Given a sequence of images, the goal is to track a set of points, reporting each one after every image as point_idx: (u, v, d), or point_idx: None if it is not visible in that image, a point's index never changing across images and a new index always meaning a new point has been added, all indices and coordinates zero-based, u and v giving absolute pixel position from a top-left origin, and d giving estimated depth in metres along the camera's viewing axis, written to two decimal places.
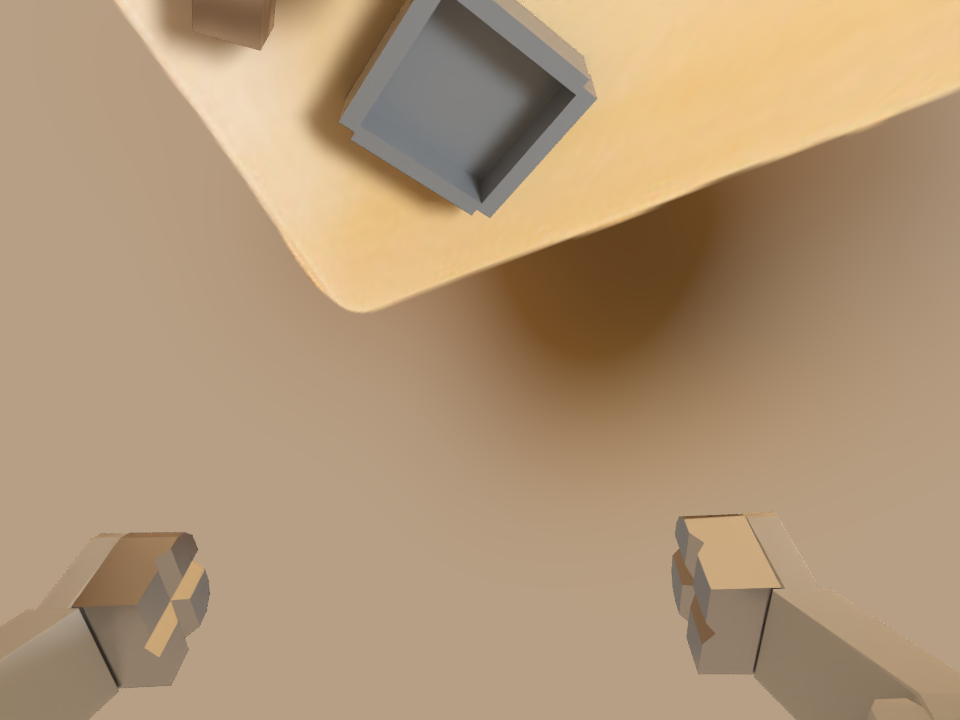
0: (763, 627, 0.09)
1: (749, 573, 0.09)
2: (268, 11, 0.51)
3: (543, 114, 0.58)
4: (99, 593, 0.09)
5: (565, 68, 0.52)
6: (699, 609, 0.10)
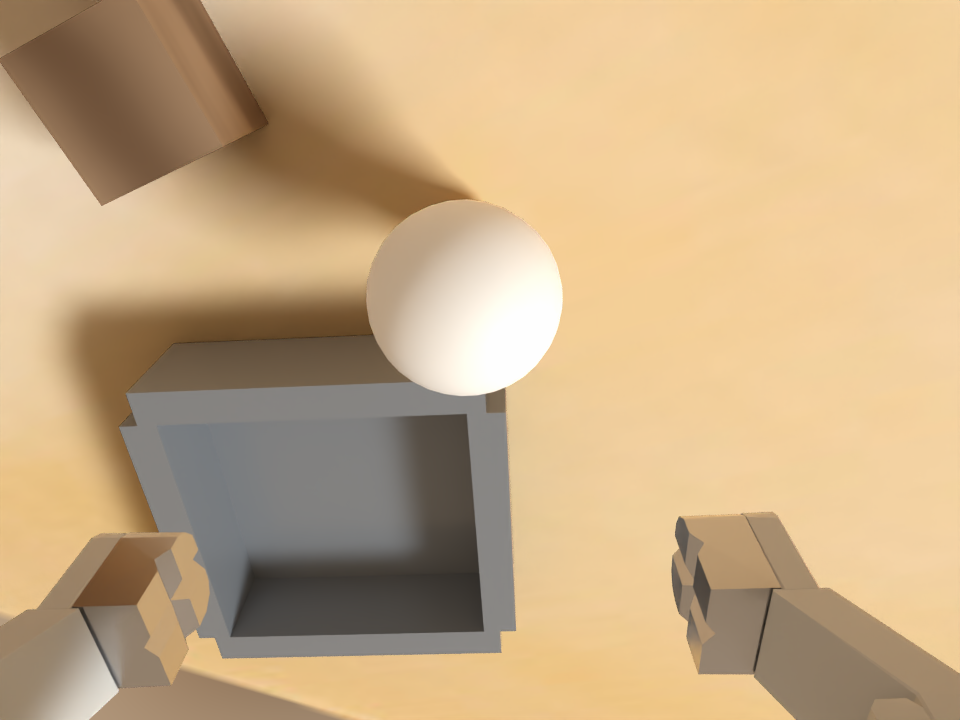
0: (763, 627, 0.09)
1: (749, 573, 0.09)
2: None
3: (414, 589, 0.35)
4: (99, 592, 0.09)
5: (503, 600, 0.32)
6: (699, 609, 0.10)
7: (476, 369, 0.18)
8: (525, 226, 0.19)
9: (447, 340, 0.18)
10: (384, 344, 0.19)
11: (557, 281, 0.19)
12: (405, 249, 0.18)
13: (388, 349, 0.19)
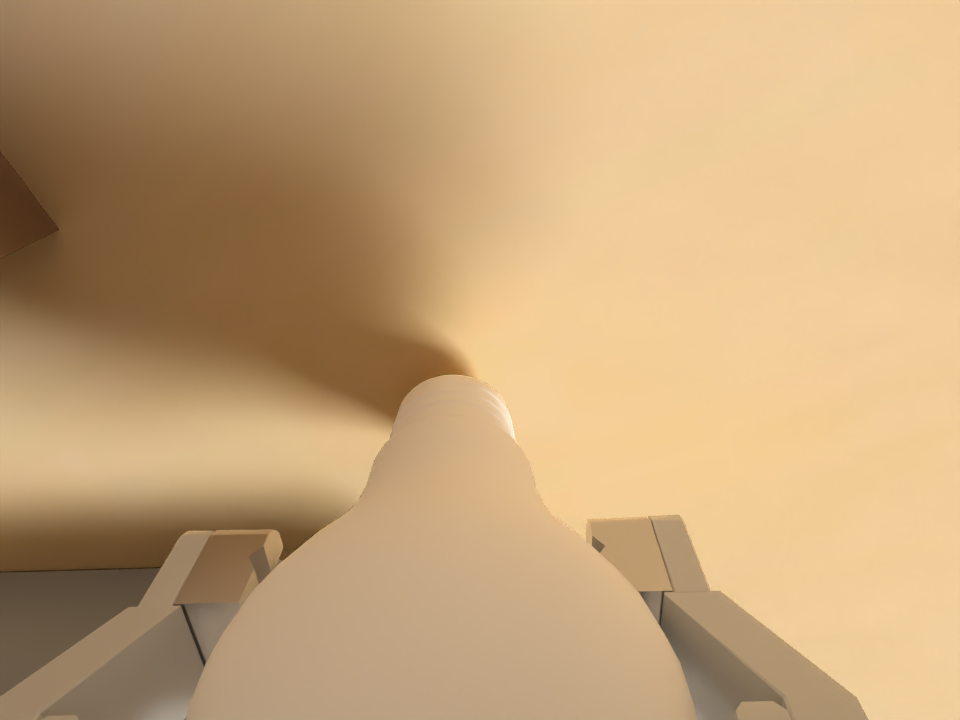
0: None
1: (644, 576, 0.09)
2: None
3: None
4: (198, 590, 0.09)
5: None
6: None
7: None
8: (615, 628, 0.07)
9: None
10: None
11: None
12: None
13: None
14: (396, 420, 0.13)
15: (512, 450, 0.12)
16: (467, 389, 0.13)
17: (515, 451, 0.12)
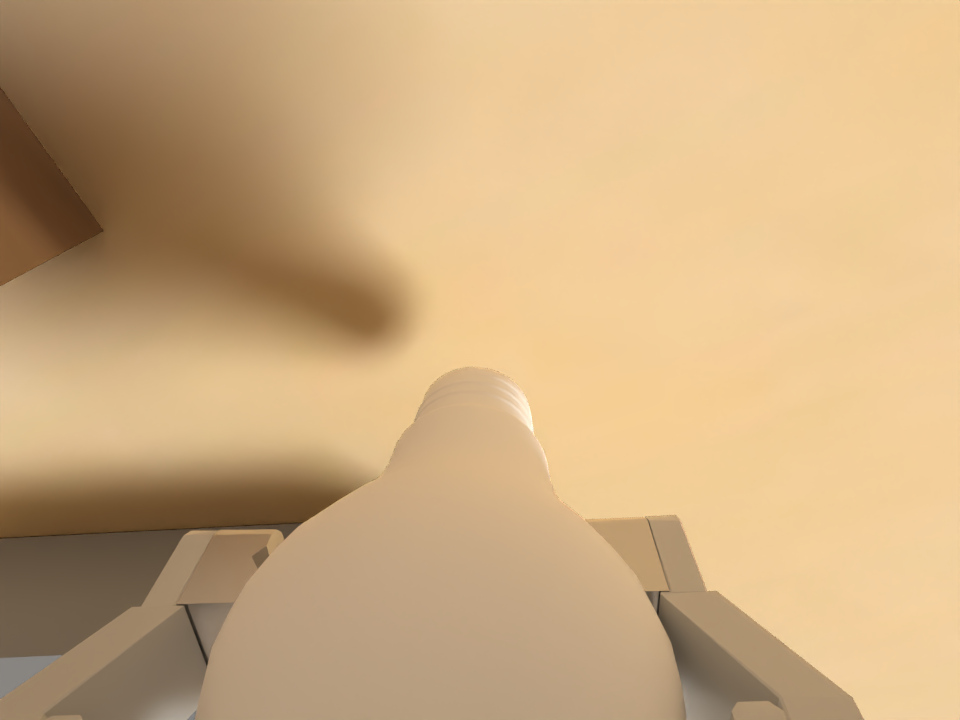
0: None
1: (640, 576, 0.09)
2: None
3: None
4: (201, 589, 0.09)
5: None
6: None
7: None
8: (605, 598, 0.07)
9: None
10: None
11: None
12: (266, 702, 0.06)
13: None
14: (420, 408, 0.14)
15: (527, 439, 0.12)
16: (489, 381, 0.14)
17: (530, 441, 0.12)
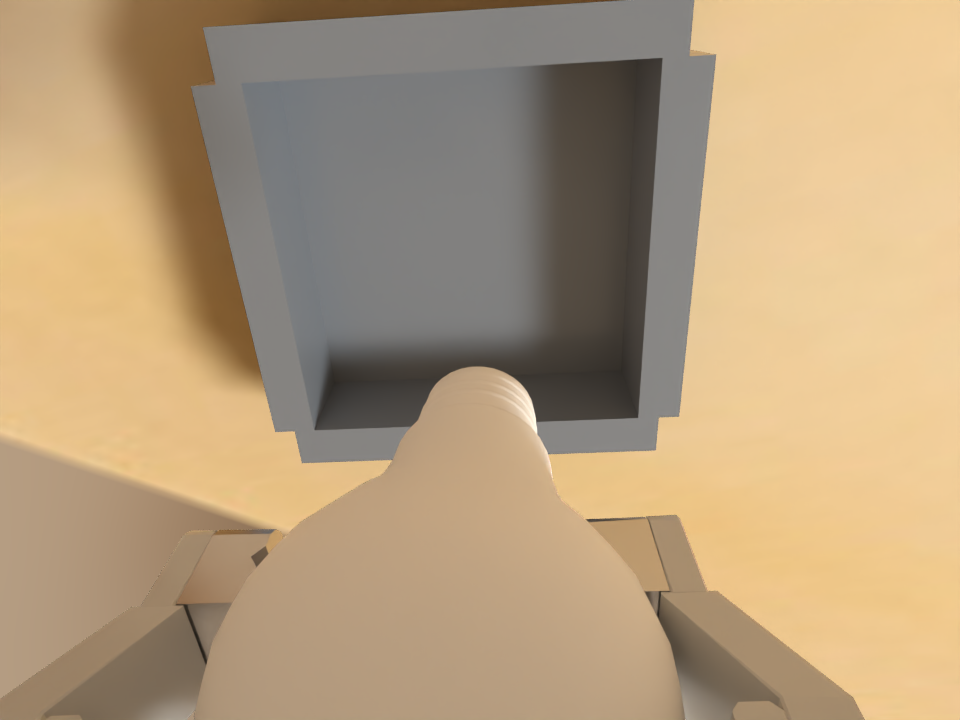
0: None
1: (641, 576, 0.09)
2: None
3: (537, 386, 0.28)
4: (200, 590, 0.09)
5: (669, 368, 0.25)
6: None
7: None
8: (603, 597, 0.07)
9: None
10: None
11: None
12: (265, 696, 0.06)
13: None
14: (424, 406, 0.14)
15: (530, 439, 0.12)
16: (493, 381, 0.14)
17: (533, 440, 0.12)
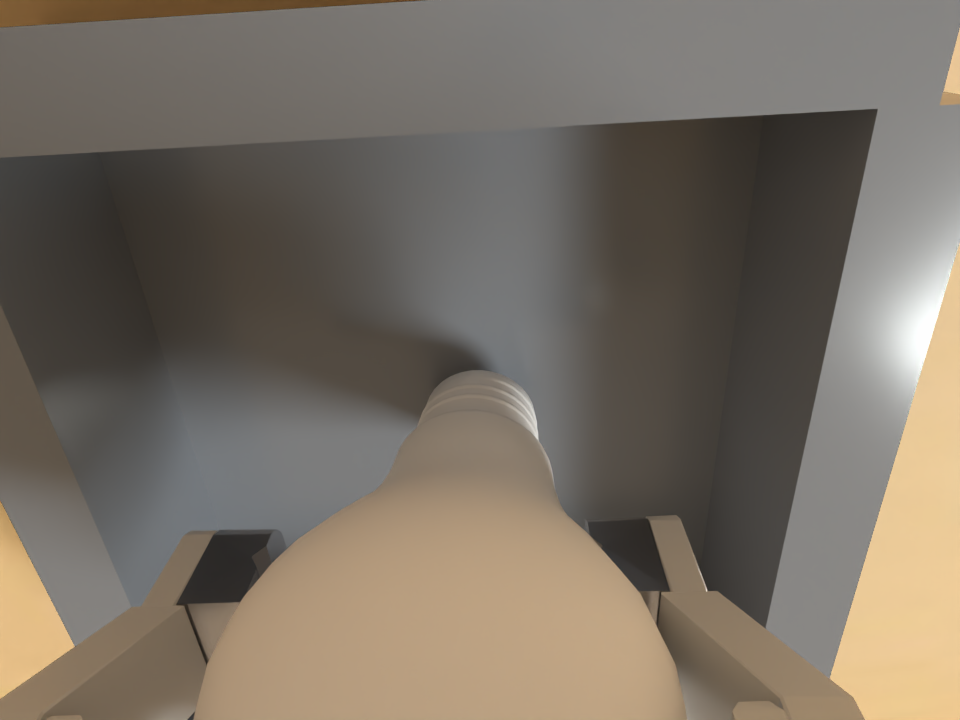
0: None
1: (641, 576, 0.09)
2: None
3: None
4: (201, 589, 0.09)
5: (811, 651, 0.14)
6: None
7: None
8: (608, 623, 0.07)
9: None
10: None
11: None
12: None
13: None
14: (424, 411, 0.14)
15: (532, 447, 0.12)
16: (494, 385, 0.14)
17: (535, 448, 0.12)
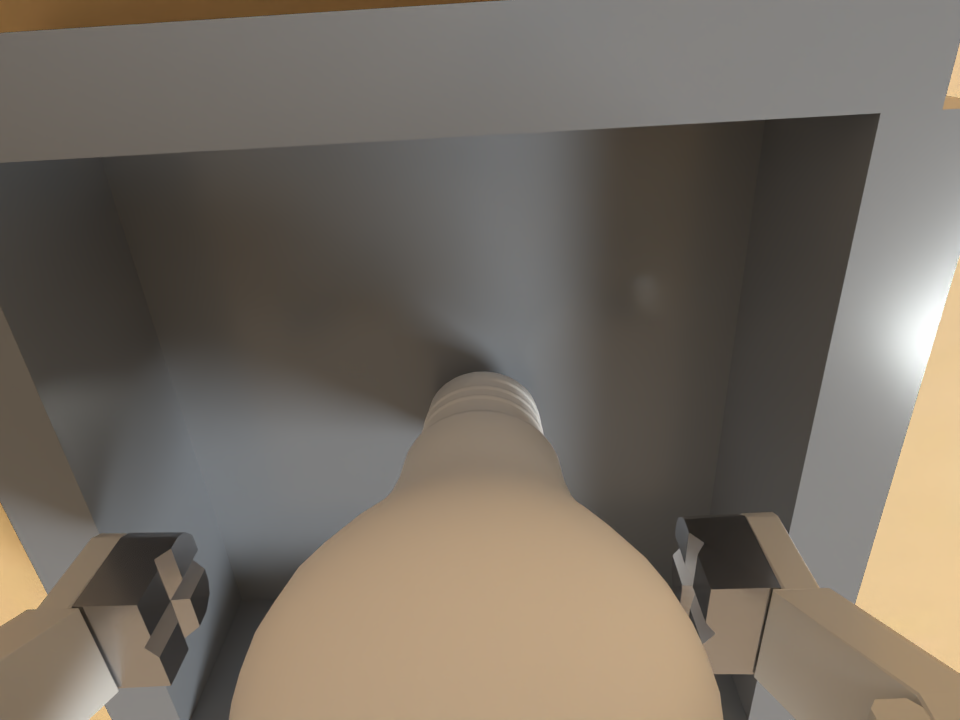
0: (763, 627, 0.09)
1: (749, 573, 0.09)
2: None
3: None
4: (99, 593, 0.09)
5: None
6: (699, 609, 0.10)
7: None
8: (647, 611, 0.07)
9: None
10: None
11: None
12: None
13: None
14: (428, 414, 0.14)
15: (542, 445, 0.12)
16: (498, 386, 0.14)
17: (545, 447, 0.12)
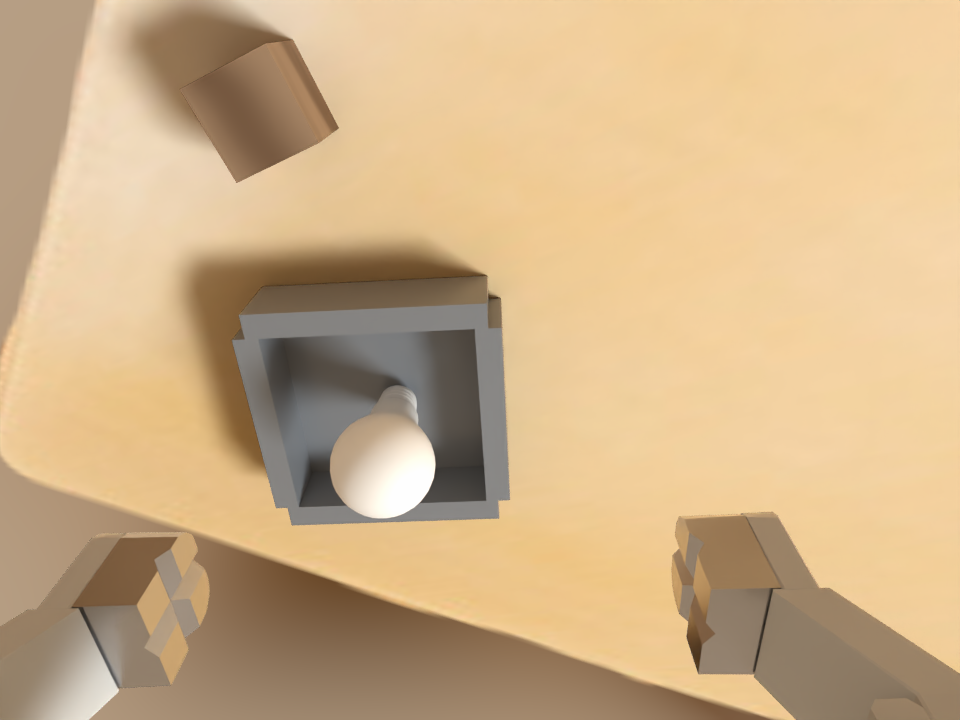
0: (763, 627, 0.09)
1: (749, 573, 0.09)
2: None
3: (434, 476, 0.47)
4: (99, 593, 0.09)
5: (500, 474, 0.43)
6: (699, 609, 0.10)
7: (384, 510, 0.36)
8: (412, 434, 0.37)
9: (368, 498, 0.36)
10: (338, 494, 0.37)
11: (429, 461, 0.37)
12: (348, 450, 0.36)
13: (340, 496, 0.37)
14: (379, 399, 0.44)
15: (409, 407, 0.42)
16: (401, 390, 0.43)
17: (410, 407, 0.42)
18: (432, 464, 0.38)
